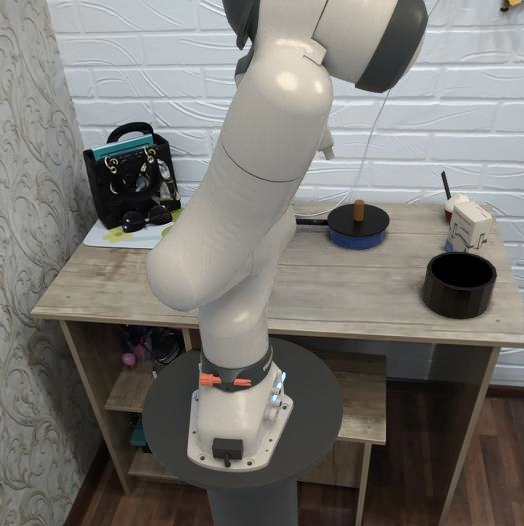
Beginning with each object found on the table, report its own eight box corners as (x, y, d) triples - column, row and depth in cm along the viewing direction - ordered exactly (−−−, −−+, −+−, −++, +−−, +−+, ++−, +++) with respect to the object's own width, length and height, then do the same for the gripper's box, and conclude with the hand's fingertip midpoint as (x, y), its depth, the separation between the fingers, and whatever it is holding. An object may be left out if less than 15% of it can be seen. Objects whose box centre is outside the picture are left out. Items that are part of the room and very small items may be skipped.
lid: (389, 240, 134) (391, 219, 130) (324, 237, 136) (324, 217, 132) (389, 208, 145) (391, 187, 141) (329, 206, 147) (330, 186, 143)
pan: (384, 250, 137) (385, 236, 134) (327, 248, 139) (327, 234, 136) (384, 221, 147) (386, 207, 144) (331, 219, 149) (332, 205, 146)
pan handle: (332, 227, 142) (333, 221, 141) (290, 225, 143) (290, 220, 142) (333, 224, 143) (333, 218, 142) (291, 222, 144) (291, 216, 143)
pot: (492, 321, 116) (500, 291, 111) (423, 316, 118) (428, 287, 113) (484, 281, 126) (492, 253, 121) (421, 278, 128) (426, 249, 123)
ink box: (443, 248, 136) (452, 203, 128) (462, 243, 137) (471, 199, 129) (464, 267, 130) (474, 221, 122) (483, 262, 131) (494, 216, 123)
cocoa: (476, 223, 144) (486, 179, 135) (458, 231, 141) (467, 186, 133) (448, 208, 150) (457, 165, 141) (431, 216, 147) (438, 172, 139)
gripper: (327, 100, 100) (350, 165, 110) (311, 56, 114) (333, 117, 124) (294, 116, 102) (319, 178, 112) (282, 70, 116) (306, 129, 125)
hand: (326, 146), depth 118 cm, fingers open, 8 cm apart
